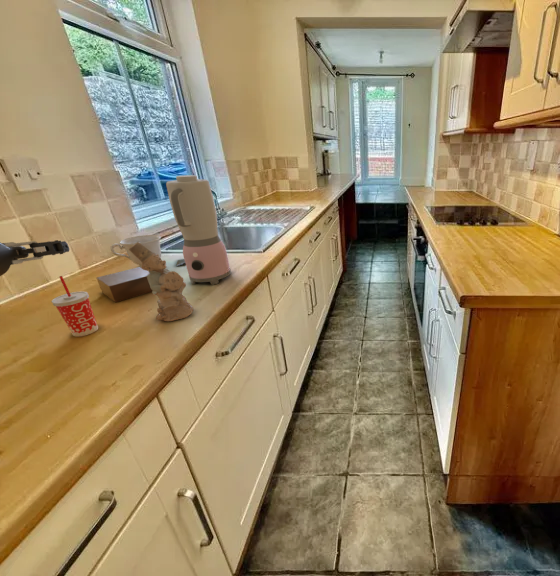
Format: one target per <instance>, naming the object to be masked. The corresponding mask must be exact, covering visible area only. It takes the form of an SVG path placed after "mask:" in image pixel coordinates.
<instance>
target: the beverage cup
mask: <svg viewBox="0 0 560 576" xmlns="http://www.w3.org/2000/svg"><path fill="white" fill-rule="evenodd" d="M58 277H59V280H60V282H61V284H62V286H63V289H64V290H65V292H66V293H64V294H61V295H59V296H56V297H55V298H53V299H52V300H51V303H52V305H53V307H56V309H57V311H58V312H59V314H60V316H61V318H62V320H63V321H64V323H65V325H66V326H67V328H68V330H69V331H70V333H71V334H72V336H73V337H85V336H88V335H91V334H93V333H95V332H96V331H98V330H99V325H98V322H97V319H96V317H95V314H94V311H93V308H92V304H91V303H90V295H89V292H88V291H83V290H81V291H72V292H70V291H69V288H68V286H67V284H66V281H65V279H64V278H63V277H64V276H63V275H59V276H58Z"/></svg>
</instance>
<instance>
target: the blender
mask: <svg viewBox="0 0 560 576" xmlns="http://www.w3.org/2000/svg"><path fill="white" fill-rule="evenodd" d="M175 178H176V179H175V180H168V181H166V183H165V185H166V190H167V195H168V199H169V202H170V208H171V211H172V214H173V217H174V220H175V222H176V224H177V226H178V229H179V231H180V233H181V235H182V238H183V246H182V255H183V259H184V260H185V263H186V265H185V266H186V270H187V274H188V277H189V280H190V283H191V284H192V285H195V284H196V283H208V282H209V283H210V285H212V286H213V285H217V284H219V283H220V282H219V281H220V280H223V279H224V278H226V277H227V278H228V276H230V275H231V273H232V269H231V267H230V262H229V257H228V252H227V248H226V246H225V244H224V242H223V240H222V239H221V238H220V236H219V231H218V215H217V209H216V204H215V199H214V195H213V192H212V189H211V185H210V181H209V180H208V179H203V178H198V177H197V175H194V174H193V175H192V174H188V175H185V174H184V175H177V176H176V177H175Z"/></svg>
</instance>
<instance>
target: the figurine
mask: <svg viewBox="0 0 560 576" xmlns="http://www.w3.org/2000/svg"><path fill="white" fill-rule="evenodd" d="M129 250H130V251H131V252H132V253H133V254H134V255H135V256H136V257H137V258H138V259H139V260H140V261H141V262H142V269H143V270H147V271H148V272H149V275H147V279H148V282H149V284H150V288H151V289H152V290H153V291H152V292H151V293H152V294H153V295H154V296H157V298H158V300H157V306H158V308H157V309H156V311H157V315H156V318H155V319H156V320H157V321H165V322H173V321H176V320H182V319H186V318H188V317H189V316H190V315H191V314H192V313H193V312H194V308H193V306H192V305H191V303H190V302H189V301H188V300H187V298H186V297H185V295H184V294H183V291H184V289H185V288H186V286H187V284H186V282H185V279H184V277H182V275H181V274H180V273H178V272H177V271H171V270H169V269H167V261H166V260H165V259H162V257H161V258H160V257H159V255H158V254H155V253H153V252H152V251H150V250H149V249H147V248H146V247H145V246H144V245H142V244H141V243H140V242H137V243H135V244H134V245H133V246H132V247H131V248H130V249H129Z"/></svg>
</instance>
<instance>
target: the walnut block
mask: <svg viewBox="0 0 560 576" xmlns="http://www.w3.org/2000/svg"><path fill="white" fill-rule="evenodd" d="M147 275H149V272H148V271H147V270H143V269H142V268H141V267H140V266H138V267H137V266H136V267H133V268H129V269H125V270H121V271H117V272H113V273H110V274H104V275H101V276H97V277H96V281H97V283H98V286H99V289H100V291H101V293H102V294H103V295H105V296H106V297H107V298H108V299H110V300H111V301H113V302H114V303H119V302H121V301H125V300H129V299H132V298H134V297H138V296H142V295H145V294H148V293H152V292H153V290H152V289H151V288H150V284H149V282H148V279H147Z"/></svg>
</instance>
